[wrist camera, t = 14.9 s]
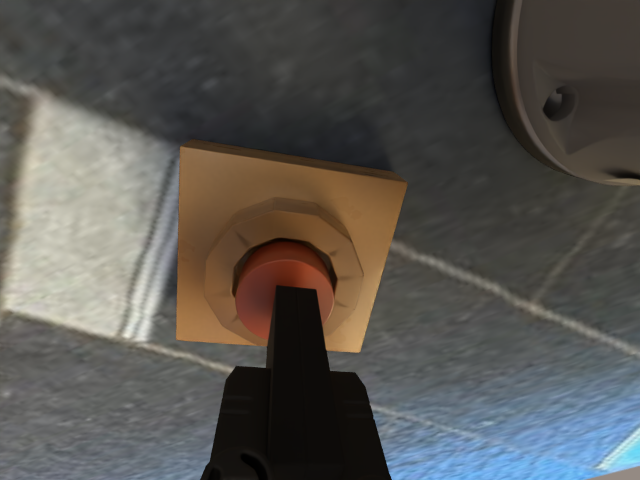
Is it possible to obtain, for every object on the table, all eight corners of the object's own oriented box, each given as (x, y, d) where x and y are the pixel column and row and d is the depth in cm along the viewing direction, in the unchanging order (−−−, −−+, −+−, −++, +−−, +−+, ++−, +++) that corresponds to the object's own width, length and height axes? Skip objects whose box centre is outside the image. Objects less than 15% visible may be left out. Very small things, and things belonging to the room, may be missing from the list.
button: (244, 235, 14) (239, 253, 13) (336, 246, 15) (343, 265, 13) (236, 314, 16) (231, 339, 14) (320, 321, 17) (324, 346, 15)
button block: (192, 138, 16) (166, 153, 12) (394, 171, 18) (423, 193, 14) (186, 315, 20) (164, 366, 16) (352, 328, 21) (367, 377, 18)
